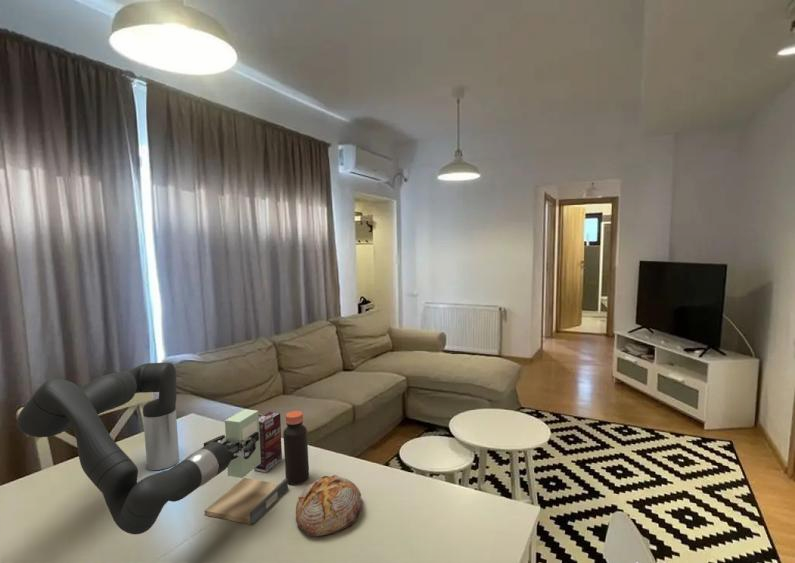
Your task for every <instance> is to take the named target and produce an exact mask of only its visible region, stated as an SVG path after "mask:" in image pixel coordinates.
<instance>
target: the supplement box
mask: <svg viewBox="0 0 795 563" xmlns="http://www.w3.org/2000/svg"><path fill="white" fill-rule="evenodd" d="M281 422H282V421H281V413H280V412H276V411H268V412H267V413H265V414H262V415H261V416H259V432H260V453H261V463H260V464H259V465H258V466H257V467H256V468H254V469H253V471H256V472H261V473H267V472H269V470H272V468H273V467H275V466H276V465H277V464H278V463H280V462H281V461H283V455H282V454H283V449H282V447H283V446H282V428H281V427H282V426H281V424H282V423H281Z"/></svg>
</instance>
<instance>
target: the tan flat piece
mask: <svg viewBox="0 0 795 563" xmlns="http://www.w3.org/2000/svg"><path fill="white" fill-rule="evenodd" d="M288 490H289V484H288V479H286V478H284V479H283V480H282V481H281V482H280V483H279V482H272V481H264V480H260V479H253V478H247V477H243V478H241V480H240V481H239V482H237V483H236V484H235V485H233V486H232V487H231V488H230V489H229V490H227V491H226V492H225V493H224V494H223V495H221V497H219V498H218V499H217V500H216V501H214V502H213V503H212V504H210V505H209V506H207V507H206V508H205V509H204V515H205V516H208V517H209V516H210V517H214V518H219V519H223V520H227V521H233V522H238V523H244V524H247V525H248V524H249V525H254V524H255V523H256V522H257V521H258V520H260V518H262V516H263V515H264V514H265V513H267V511H269V509H271V507H273V505H274V504H275V503H276V502H277V501H278V500H279V499H280V498H281V497H282V496H283V495H284V494H285V493H286V492H288Z"/></svg>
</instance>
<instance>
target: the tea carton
mask: <svg viewBox="0 0 795 563" xmlns="http://www.w3.org/2000/svg"><path fill="white" fill-rule="evenodd" d="M259 412H260V411H259V410H255V409H247V408H245V409H242V410H240V411H239V412H237V413H235V414H234V415H232V416H230V417H229V418H226V419H225V420H224V427H225V429H224V430H225V431H224V432H225V437H226V438H228V441H227V442H235V441H237V440H241V439H242V440H244V439H246V438H248V437H249V436H251V435H252V434H254V433H255V432H258V433H259V440H258V441H257V442H256V449H255V451H254V452H253V453H252V455H251V456H250V457H249V458H248V459H244V456H238V457H237V458H236V459H233V460H231V462H230V463H229V465H228V467H227V477H233V478H239V479H244V478H245V477H246V476H247V475H248V474H249V473H251V472H252V471H254V468H256V467H257V466H258V465H259V464H260V463H261V453H260V432H259V418H260V416H259ZM246 445H247V442H246V443H245V444H244V446H246ZM240 449H241V446H240V444H239V450H240Z"/></svg>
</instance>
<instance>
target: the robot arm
mask: <svg viewBox="0 0 795 563" xmlns="http://www.w3.org/2000/svg"><path fill="white" fill-rule="evenodd" d="M140 393H142V394H143V393H158V398H156V399H154V400H151V401H149V402H147V403H146V404H144V405H143V407H142V418H143V430H144V433H143V434H144V442H145V444H144V445H145V457H146V458H145V459H146V469H147V470H150V471H159V472H156V473H152V474H150V475H148V476H145V477H144V478H143V479H141V480H139V481H138V478H139V476H138V475H139V468H138V467H137V465H136V464H135V462H133V460H132V459H131V458H130V457H129V456H128V455H127V454H126V453H125V452H124V451H123V450H122V448H121V447H120V446H119V445H118V444H117V442H115V440H114V439H113V438H112V436H111V435H110V433H109V432H108V429H107V428H106V427H105V425H104V423H103V420H102V419H101V417H100V415H101V414H103V413H105V412H107V411H108V412H109V411H110V410H113V409H116V408H119V407H121V406H123V405H125V404H127V403H129V402H130V401H131V400H132V399H133V398H134V397H135V395H136V394H140ZM176 404H177V372H176V367H175V366H174V364H173V363H172V362H149V363H143V364H140V365H138V366H135V367H134V368H131V369H129V370H127V371H126V370H125V371H124V370H123V371H117V372H112V373H108V374H105V375H102V376H101V375H100V376H98V377H96V378H94V379H92V380H91V381H89V382H87V383H86V384H84V385H83V386H81V387H80V386H78V385H77V384H76V383H74V382H72V381H69V380H66V379H62V378H61V379H60V378H53V379H49V380H47V381H45V382H44V383H42V384H41V386H40V387H39V388H37V390H36V391H35V392H34V394H33V395H32V396H31V397H30V399H29V400H28V401H27V403H26V404H25V405H24V406H23V408H22V409H21V411H20V412H19V414H18V417H17V419H16V421H17V422H16V424H17V428H18V429H19V430H20V431H21V432H22V433H23V434H25V435H26V436H30V437H33V438H49V437H53V436H57V435H59V434H61V433H63V432H65V431H67V430H69V429H71V428H72V429H73V433H74V436H75V440H76V441H75V442H76V447H77V453H78V459H79V463H80V467H81V468H82V470H83V473H84V474H85V475H86V477H88V479H89V480H90V481H91V483H93V485H94V486H95V487H96V488H97V489H98V490H99V491H100V493H101V494H102V496H103V498H104V501H105V503H106V506H107V508H108V510H109V513H110V515H111V517H112V519H113V521H114V523H115V525H116V526H117V527H118V528H119V529H120V530H121V531H123V532H125V533H127V534H130V535H141V534H144V533H146V532H147V531H149V530H150V529H151V528H152V527H153V526H154V524H155V523H156V521H157V519H158V517H159V515H160V513H161V512H162V509H163V508H164V507H165V505H166V504H167V503H168V502H173V503H174V502H178V501H181V500H183V499H184V498H186V497H188V496H189V495H190V494H191V493H193V492H194V491H196V490H198V488H200V487H202V486H205V485H206V484H207V483H209V482H210V481H211V480H213V479H215V478H216V477H217V476H218V475H220V474H221V473H222V472H224V471H225V470H227V469H228V465H229V463H230V462H231V460H233V459H236V458H237V457H238V456H244V459H248V458H249V457H250V456H251V455H252V453H253V452H254V451H255V449H256V442H257V441H258V440H259V433H258V432H255V433H254V434H252V435H251V436H249V437H248V438H246V439H244V440H242V439H241V440H237V441H235V442H227V441H228V438H226V434H222V435H220V436H217V437H215V438H213V439H210V440H208V441H205V442H204V443H203V447H201V448H200V449H198V450H196V451H194V452H193V453H191V454H190V455H188V456H187V457H186V458H185V459H183V460H182V461H180V450H179V437H178V434H179V433H178V423H177V422H178V418H177V408H176V407H177V406H176ZM246 442H247V445H246V446H244V444H245V443H246ZM239 444H240V446H241V449H240V450H239ZM179 461H180V462H179ZM168 468H169V469H168ZM164 469H165V470H164ZM166 469H167V470H166ZM160 470H162V471H160Z"/></svg>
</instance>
